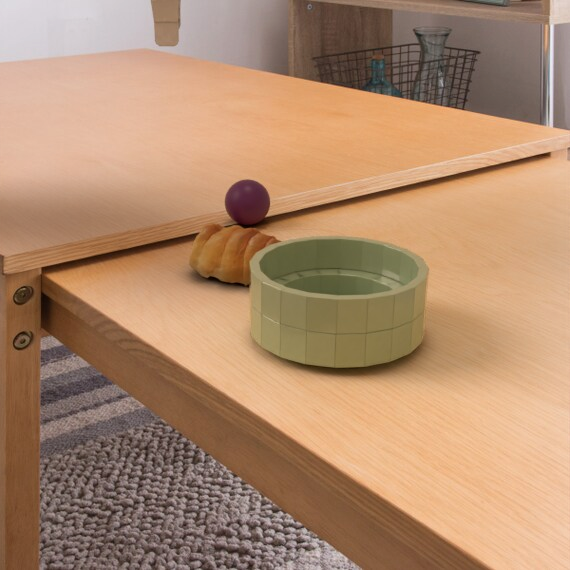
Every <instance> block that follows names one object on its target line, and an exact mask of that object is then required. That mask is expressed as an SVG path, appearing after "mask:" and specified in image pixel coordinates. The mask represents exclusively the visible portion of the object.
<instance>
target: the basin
mask: <svg viewBox="0 0 570 570" xmlns="http://www.w3.org/2000/svg"><path fill="white" fill-rule="evenodd" d="M281 241H282V242H278V243H275V244H271V245H269V246H267V247H265V248H264V249H262V250H260V251H258V252H256V254H255V255H254V256H253V258H252V259H251V260H250V263H249V284H248V286H249V288H248V289H249V291H248V292H249V296H248V297H249V303H248V305H249V306H248V307H249V309H248V310H249V311H248V312H249V313H248V314H249V320H248V321H249V331H250V336H251V337H252V339H253V340H254V341H255V342H256V343H257V344H258V345H259V347H261V348H262V349H264V350H265V351H268V352H270V354H271V353H272V354H274V355H275V356H277V357H280V358H281V359H284V360H288V361H292V362H296V363H300V364H302V365H309V366H314V367H322V368H332V369H349V368H350V369H351V368H352V369H353V368H364V367H370V366H371V367H372V366H376V365H382V364H386V363H390V362H394V361H396V360H398V359H400V358H403V357H405V356H407V355H409V354H411V353H413V351H414V350H416V349H417V348H418V347H419V346H420V345H421V344H422V343H423V340H424V339H423V338H424V335H425V328H426V327H425V326H426V313H427V301H428V289H429V288H428V287H429V275H430V267H429V265H428V264H427V263H426V261H425V260H424V259H423V257H421V256H420V255H418V254H417V253H415V252H414V251H411V250H410V249H408V248H405V247H402V246H400V245H396V244H393V243H390V242H387V241H383V240H376V239H372V238H367V237H359V236H348V235H347V236H346V235H314V236H313V235H312V236H306V237H297V238H290V239H286V240H281Z"/></svg>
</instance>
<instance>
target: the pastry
mask: <svg viewBox="0 0 570 570" xmlns="http://www.w3.org/2000/svg"><path fill="white" fill-rule="evenodd" d="M282 241H283V240H280V239H277V238H276V236H274V235H270V234H266V233H262V232H261V230H259V229H258V228H256V227H248V228H245V227H243V226H241V225H240V224H233V225H231V226H227V227H225V226H222V225H221V224H219V223H214V222H210V223H208V224H205V225H204V226H203V227H201V229H200V231H199V232H198V234H197V235H196V237H195V239H194V241H193V244H192V246H191V250H190V254H189V261H188V265H189V266H190V268H192V269H193V270H194V271H196V273H198V274H199V275H200V277H204V278H206V279H209V277H214V278H216V279H218V280H219V281H220V282H225V283H230V284H235V283H238V284H242V285H244V286H249V263H250V260H251V259H252V258H253V256H254V255H255V254H256V252H258V251H260V250H262V249H264V248H265V247H267V246H269V245H271V244H275V243H278V242H282Z"/></svg>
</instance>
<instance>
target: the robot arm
mask: <svg viewBox="0 0 570 570" xmlns="http://www.w3.org/2000/svg"><path fill="white" fill-rule="evenodd" d="M181 3H182V1H181V0H150V5H151V12H152V19H153V30H154V42H155V44H156V45H157V46H158V47H176V46H177V45H178V44H179V42H180V37H179V36H180V35H179V32H180V28H181V25H182V24H181V23H182V22H181V21H182V20H181Z"/></svg>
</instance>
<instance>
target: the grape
mask: <svg viewBox="0 0 570 570" xmlns="http://www.w3.org/2000/svg"><path fill="white" fill-rule="evenodd" d="M224 207H225V211H226V213H227V215H228V216H229V217H230V219H231V220H233V221H234V222H235V223H237V224H238V225H243V226H252V225H256V224H258V223H260V222H262V221H263V220H264V219H265V218H266V216H267V215H268V213H269V211H270V209H271V197H270V194H269V192H268V189H267V188H266V187H265V186H264V185H263V184H262V183H260V182H259V181H257V180H254V179H249V178H247V179H241V180H238V181H235V183H233V184H232V185H231V186H229V188H228V190H227V191H226V193H225V197H224Z"/></svg>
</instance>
